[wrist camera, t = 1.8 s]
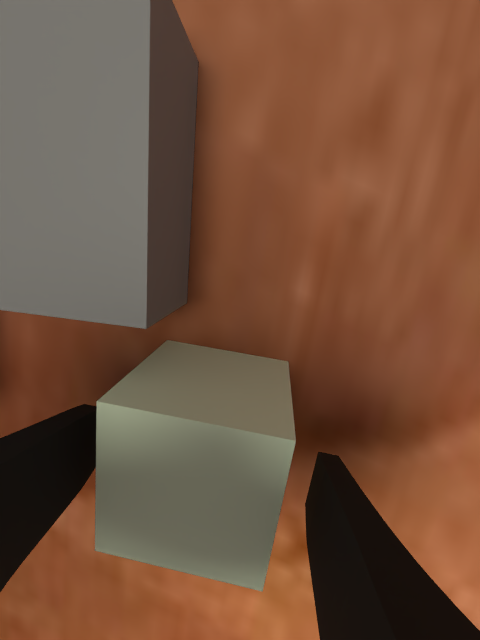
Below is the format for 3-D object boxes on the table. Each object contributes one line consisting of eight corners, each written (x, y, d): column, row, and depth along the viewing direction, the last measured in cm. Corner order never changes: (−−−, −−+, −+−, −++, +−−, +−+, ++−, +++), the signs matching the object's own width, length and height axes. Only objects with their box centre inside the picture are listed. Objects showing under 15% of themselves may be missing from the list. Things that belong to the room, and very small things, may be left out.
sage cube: (267, 463, 13) (262, 591, 8) (160, 441, 13) (95, 550, 9) (288, 360, 12) (295, 440, 7) (168, 339, 12) (96, 401, 7)
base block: (189, 301, 12) (146, 328, 8) (8, 280, 13) (-110, 295, 9) (200, 66, 10) (150, -49, 6) (-17, 58, 11) (-185, -50, 7)
